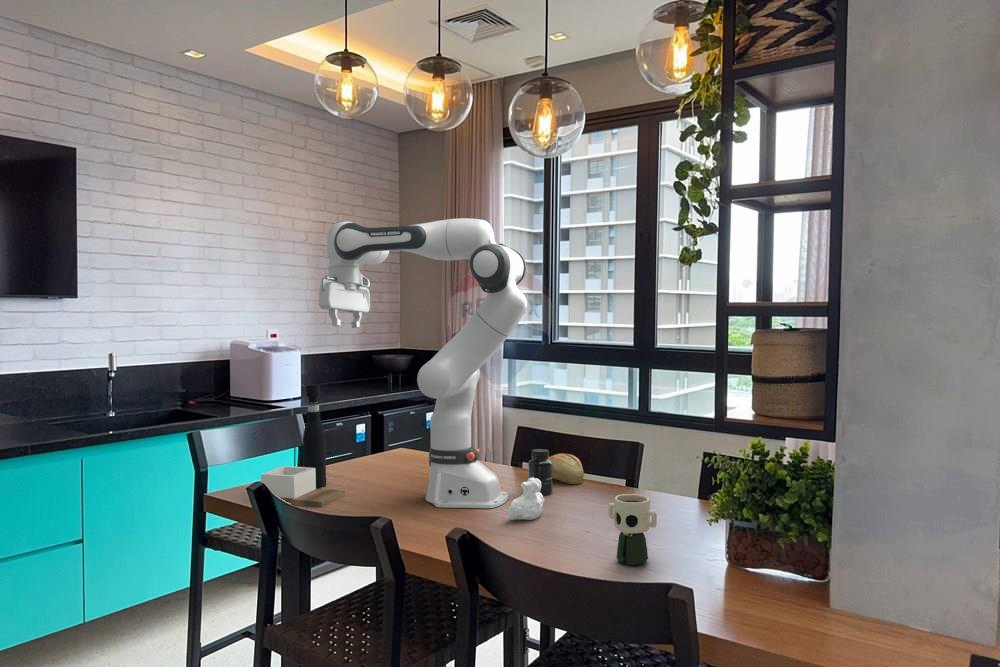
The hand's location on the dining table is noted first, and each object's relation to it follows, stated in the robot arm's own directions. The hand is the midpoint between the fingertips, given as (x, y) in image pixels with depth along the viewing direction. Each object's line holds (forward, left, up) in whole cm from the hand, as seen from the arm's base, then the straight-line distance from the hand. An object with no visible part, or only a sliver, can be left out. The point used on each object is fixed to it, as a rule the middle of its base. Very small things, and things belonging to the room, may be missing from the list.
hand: (346, 327), depth 199 cm
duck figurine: (-56, +12, -47) cm, 74 cm away
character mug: (-84, +35, -47) cm, 103 cm away
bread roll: (-56, -28, -47) cm, 79 cm away
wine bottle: (+13, -2, -47) cm, 49 cm away
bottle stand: (+9, +11, -47) cm, 49 cm away
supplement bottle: (-53, -12, -47) cm, 72 cm away
